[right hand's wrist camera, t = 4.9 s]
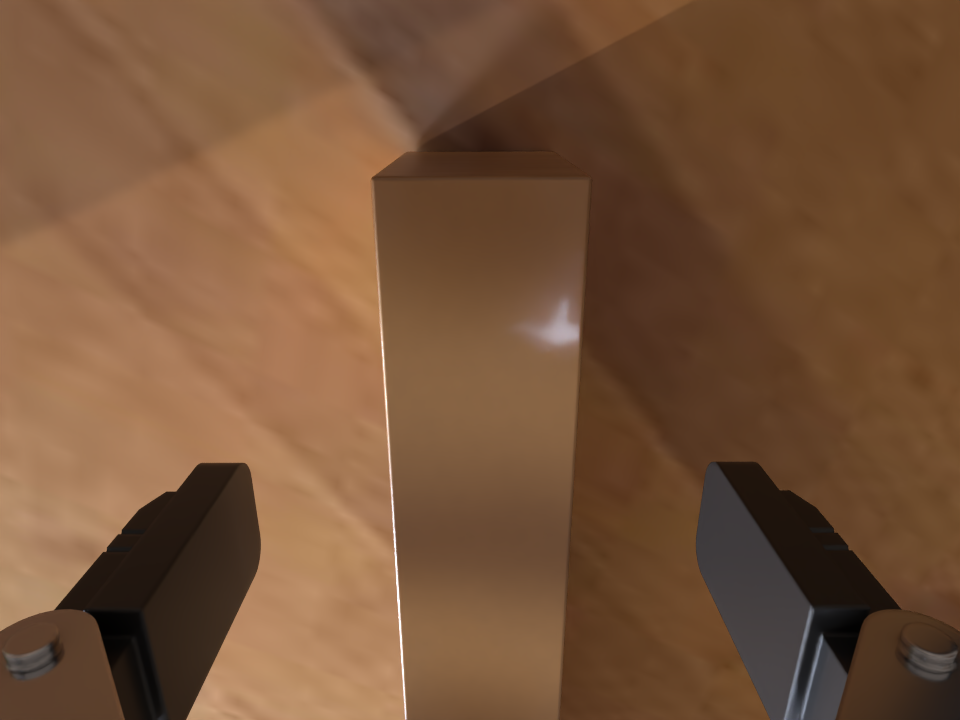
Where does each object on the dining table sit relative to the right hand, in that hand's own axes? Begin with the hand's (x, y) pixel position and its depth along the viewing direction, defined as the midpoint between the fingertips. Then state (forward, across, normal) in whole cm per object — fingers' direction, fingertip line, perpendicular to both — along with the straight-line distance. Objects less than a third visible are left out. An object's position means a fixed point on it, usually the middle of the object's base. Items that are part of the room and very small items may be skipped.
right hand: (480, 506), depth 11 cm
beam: (+10, 0, -20) cm, 22 cm away
